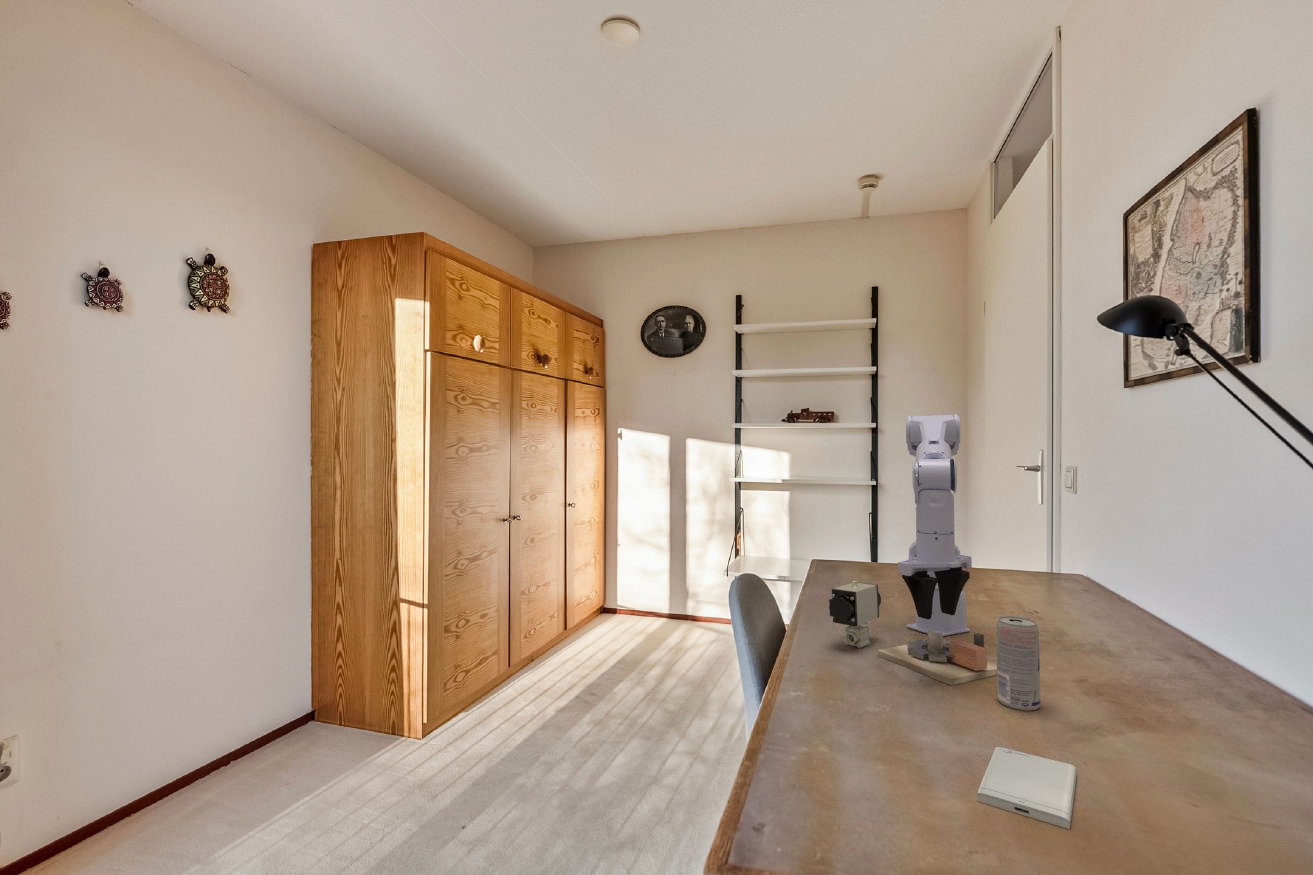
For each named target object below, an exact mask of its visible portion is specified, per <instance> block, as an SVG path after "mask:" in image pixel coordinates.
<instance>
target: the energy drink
mask: <svg viewBox="0 0 1313 875" xmlns="http://www.w3.org/2000/svg"><path fill="white" fill-rule="evenodd" d="M995 627H996V630H995V631H996V658H997V675H996V676H997V678H996V681H997V682H996V683H997V699H998V701H999V702H1000V703H1001V704H1002V705H1003V706H1005V707H1008V708H1009V709H1013V710H1014V709H1015V710H1019V711H1023V712H1024V711H1025V712H1026V711H1028V712H1031V711H1037V710H1038V709H1039V708H1040V707H1041V669H1040V665H1041V664H1040V661H1041V660H1040V628H1039V626H1038V622H1037V621H1036V620H1033V619H1031V618H1026V617H1021V616H1015V615H1014V616H1013V615H1006V616H1003V615H1002V616H999V617H998V618H997V622H996V626H995Z"/></svg>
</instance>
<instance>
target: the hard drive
mask: <svg viewBox="0 0 1313 875" xmlns="http://www.w3.org/2000/svg"><path fill="white" fill-rule="evenodd" d="M1077 773H1078V772H1077V767H1076V766H1074V765H1073V764H1070V763H1066V762H1063V761H1059V760H1053V759H1050V758H1045V757H1042V756H1038V755H1034V754H1030V753H1025V752H1022V751H1018V750H1014V749H1010V748H1006V747H1001V746H996V747H995V748H994V750H993V753H992V756H991V759H990V761H989V763H988V765H987V768H986V770H985V773H984V774H983V777H982V780H981V781H980V782H981V783H980V785H979V788H978V790H977V792H976V802H977V803H981V804H985V805H989V806H991V807H995V808H998V809H1002V810H1005V811H1007V812H1010V813H1011V812H1012V813H1014V814H1017V815H1021V816H1025V817H1028V818H1032V819H1033V820H1038V821H1041V822H1045V823H1047V824H1051V825H1055V826H1058V827H1061V828H1065V829H1068V830H1070V829H1071V822H1072V821H1071V820H1072V813H1073V807H1074V799H1075V791H1076V783H1077V776H1078V775H1077Z"/></svg>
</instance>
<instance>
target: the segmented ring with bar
mask: <svg viewBox="0 0 1313 875" xmlns="http://www.w3.org/2000/svg"><path fill="white" fill-rule="evenodd" d="M924 641H925V642H924ZM906 645H907V649H908V653H910V654H911V655H913V656H916V657H919V658H921V659H927V658H928V660H929V661H939V662H947V661H950V662H954V663H956V664H959V665H962V666H965V667H967V668H970V669H973V670H976V671H978V670H982V669H987V656H988V651H987V648H986V647H984V648H983V647H980V646H977V645H974V643H971V642H967V641H964V640H961V639H957V640H953V641H949V642H948V643H943V651H945V652H944V653H938V652H930V651H927V650H924V649H928V639H925V640H922V639H919V640H914V641H913V640H912V641H909V642H908V643H906Z"/></svg>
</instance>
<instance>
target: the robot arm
mask: <svg viewBox="0 0 1313 875" xmlns="http://www.w3.org/2000/svg"><path fill="white" fill-rule="evenodd" d="M960 418H961V417H960V416H959V415H958V414H957V413H954V414H940V415H939V414H934V415H933V414H932V415H931V414H930V415H911V414H909V415H907V417H906V418H905V441H906V446H907V447H906V448H907V451H908V452H909V454H908V455H910V456H913V457H915V461H913V463H912V488H913V494H914V504H915V505H916V507H915V535H916V536H915V538H916V540H915V541H914V542H912V543H911V544H910V547H909V548H908V559H906V560H902V561H898V562H897V574H898V575H901V578H902V579H903V580H904V583H905V584H906V587H907V588H908V590H909V592H910V595H911V597H912V601H913V604H914V607H915V620H916V621H915V622H914V623H909V624H908V623H907V624H906V628H908V629H912V630H915V631H918V632H921V633H925V634H926V635H928V631H929V630H936V631H940V632H942V633H943V637H945V636H946V637H947V636H951V635H956V634H963V633H967V632H971V628H970V627H967V598H966V595H965V593H964V591H963V589H964V587H965V586H966V584H967V582H968V581H969V579H970V577H971V574H970V573H971V572H970V571H969V570H968V571H966V570H963V569H971V568H972V567H973V566H972V556H971V555H970V556H969V555H965V554H961V550H960V549H959V547H958V545H957V544H956V543H955V541H956V539H955V495H954V494H956V492H957V488H958V470H957V462H956V459H955V457H953V456H956V455H958V451H959V450H960V444H961V419H960ZM951 491H953V493H954V494H953V493H952V492H951Z"/></svg>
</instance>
